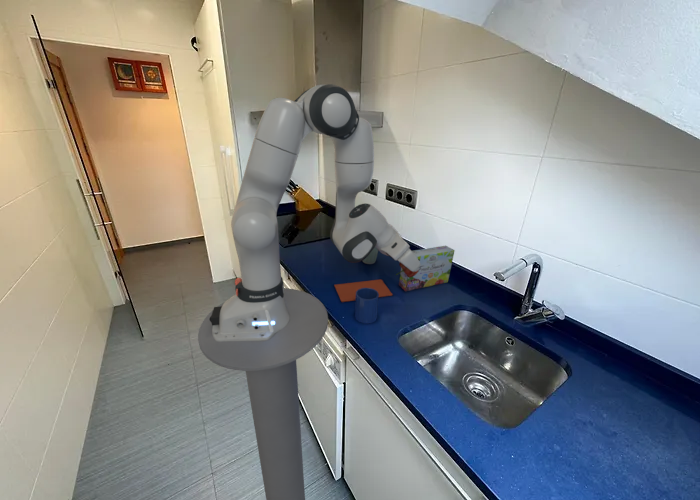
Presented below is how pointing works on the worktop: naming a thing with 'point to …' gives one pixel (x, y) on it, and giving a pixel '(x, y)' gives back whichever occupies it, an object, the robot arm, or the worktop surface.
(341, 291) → the red mat
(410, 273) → the pomegranate
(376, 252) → the disposable coffee cup
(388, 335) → the worktop surface
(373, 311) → the blue cup
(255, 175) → the robot arm
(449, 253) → the snack box
